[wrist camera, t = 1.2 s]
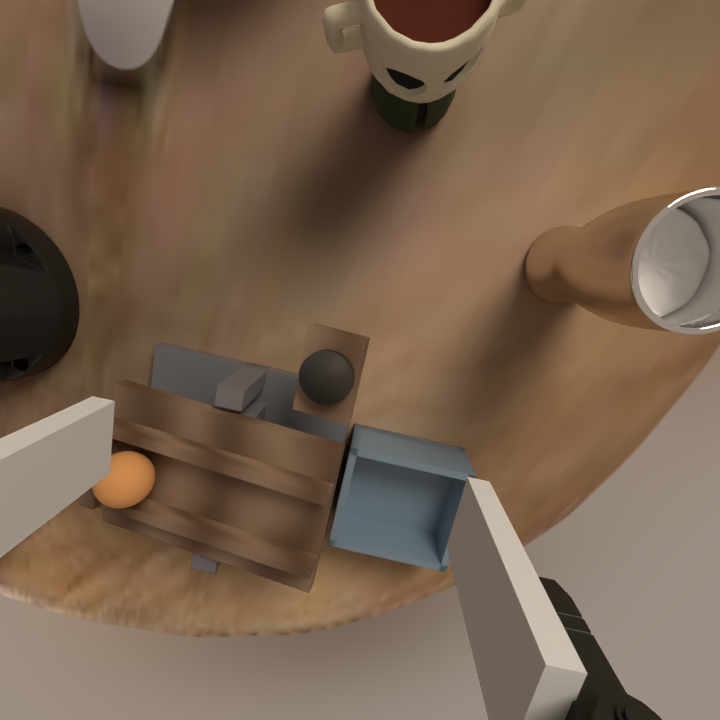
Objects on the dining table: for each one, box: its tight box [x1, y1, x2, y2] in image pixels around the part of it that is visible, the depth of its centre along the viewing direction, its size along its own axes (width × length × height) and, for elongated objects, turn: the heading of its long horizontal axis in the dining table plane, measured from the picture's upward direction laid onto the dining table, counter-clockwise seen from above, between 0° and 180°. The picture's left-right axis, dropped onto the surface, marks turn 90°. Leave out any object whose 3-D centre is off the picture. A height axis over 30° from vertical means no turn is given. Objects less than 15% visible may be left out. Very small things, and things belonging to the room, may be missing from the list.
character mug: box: [323, 0, 527, 132], centre depth 24 cm, size 11×7×13 cm, turn 100°
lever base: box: [151, 343, 350, 574], centre depth 35 cm, size 18×16×7 cm
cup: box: [328, 424, 477, 572], centre depth 36 cm, size 10×9×5 cm
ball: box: [92, 451, 155, 508], centre depth 29 cm, size 4×4×4 cm
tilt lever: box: [80, 323, 370, 593], centre depth 30 cm, size 18×20×6 cm
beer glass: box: [525, 187, 720, 335], centre depth 26 cm, size 7×7×15 cm
